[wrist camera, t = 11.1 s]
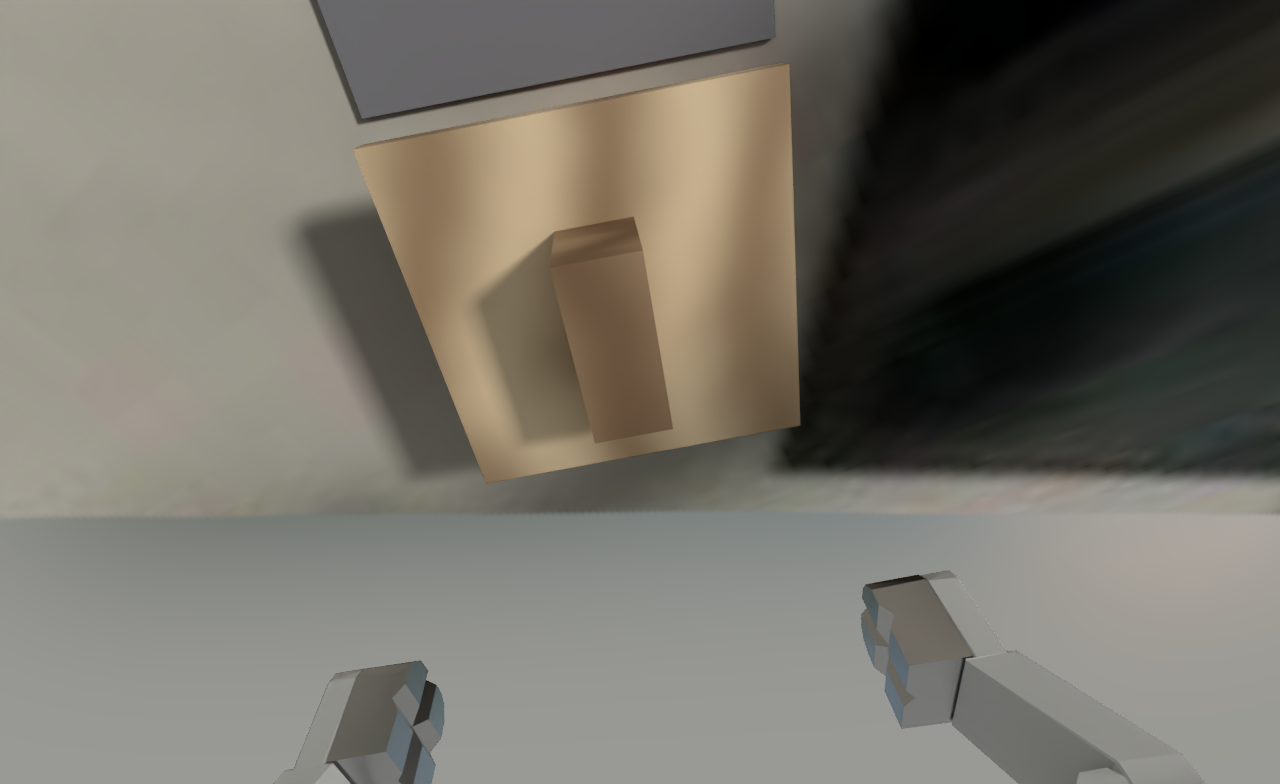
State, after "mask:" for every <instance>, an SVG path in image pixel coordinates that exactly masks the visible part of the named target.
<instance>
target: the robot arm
mask: <svg viewBox="0 0 1280 784" xmlns="http://www.w3.org/2000/svg"><path fill="white" fill-rule="evenodd" d="M862 599H863V601H864V603H865V605H866V607H867V609H866V610H865V611H864V612H863V613H862V614H861V627H862V632H863V638H864V642H865V645H866V648H867V651H868V654H869V656H870V659H871V661H872V663H873V666H874V667H875V668H876V669H877V670H879V671H880V672H881V673H883V674H884V675H885V676H886V682H885V693H886V695H887V697H888V700H889V702H890V704H891V706H892V708H893V711H894V713H895V715H896V717H897V720H898V722H899V724H900V726H901V728H902V729H903V728H911V727H918V726H925V725H933V724H941V723H948V722H952V725H953V726H954V727H955V728H956V729H957V730H958V731H959V732H960V733H962V734H963V735H964V736H965V737H966V738H967V739H968V740H970V741H971V742H972V743H973V744H974V745H975V746H976V747H978V748H979V749H980V750H981V751H982V752H983V753H984V754H985V755H987V756H988V757H989V758H990V759H991V760H992V761H993V762H994V763H996V764H997V765H998V766H999V767H1000V768H1001V769H1002V770H1004V771H1005V772H1006V773H1007V774H1008V775H1009V776H1010V777H1012V778H1013V779H1014V780H1015V781H1016V782H1017V783H1018V784H1206V783H1205V782H1204V780H1203V779H1202V778H1201V776H1200V775H1199V774H1198V773H1197V772H1196V770H1195V769H1194V768H1193V766H1192V765H1191V764H1190V763H1189V762H1188V760H1187V759H1186V758H1185V757H1184V755H1183V754H1182V753H1180V752H1178V751H1177V750H1175V749H1173V748H1172V747H1170V746H1169V745H1167V744H1166V743H1164V742H1162V741H1161V740H1159V739H1158V738H1156V737H1154V736H1153V735H1151V734H1149V733H1148V732H1146V731H1145V730H1143V729H1142V728H1140V727H1138V726H1137V725H1135V724H1134V723H1132V722H1130V721H1129V720H1127V719H1126V718H1124V717H1122V716H1121V715H1119V714H1118V713H1116V712H1114V711H1113V710H1111V709H1110V708H1108V707H1106V706H1105V705H1103V704H1102V703H1100V702H1098V701H1097V700H1095V699H1093V698H1092V697H1090V696H1088V695H1087V694H1085V693H1084V692H1082V691H1081V690H1079V689H1077V688H1076V687H1074V686H1073V685H1071V684H1069V683H1068V682H1066V681H1065V680H1063V679H1061V678H1060V677H1058V676H1057V675H1055V674H1053V673H1052V672H1050V671H1049V670H1047V669H1045V668H1044V667H1042V666H1041V665H1039V664H1037V663H1036V662H1034V661H1033V660H1031V659H1029V658H1028V657H1026V656H1025V655H1023V654H1021V653H1020V652H1018V651H1007V650H1006V649H1005V647H1004V646H1003V644H1002V643H1001V641H1000V640H999V638H998V637H997V635H996V634H995V632H994V631H993V629H992V628H991V626H990V625H989V623H988V622H987V620H986V619H985V617H984V616H983V614H982V613H981V611H980V610H979V608H978V607H977V606H976V604H975V603H974V601H973V599H972V598H971V596H970V595H969V593H968V592H967V591H966V589H965V588H964V586H963V585H962V583H961V582H960V580H959V579H958V577H957V576H956V575H955V574H954V573H952V572H951V571H941V572H936V573H931V574H926V575H921V576H920V575H914V576H909V577H903V578H898V579H893V580H887V581H882V582H876V583H872V584H866V585H865V586H864V588H863V595H862ZM427 673H428V670H427V669H426V667H425V666H424V664H423V663H422V661H414V662H408V663H401V664H394V665H387V666H381V667H374V668H367V669H360V670H354V671H348V672H342V673H337V674H336V675H335V676H334V677H333V678H332V679H331V681H330V682H329V683H328V685H327V688H326V690H325V693H324V695H323V698H322V700H321V703H320V705H319V708H318V710H317V713H316V715H315V718H314V720H313V723H312V725H311V728H310V730H309V733H308V735H307V738H306V740H305V743H304V745H303V747H302V750H301V752H300V755H299V757H298V760H297V762H296V765H295V767H294V769H290V770H286V771H285V772H284V773H283V774H282V775H281V776H280V777H279V778H278V779H277V780H276V781H275V782H274V783H273V784H431V783H432V778H433V774H434V769H435V763H434V761H433V758H432V756H431V754H430V752H431V751H432V749H433V748H434V747H435V746H436V744H437V743H438V742H439V740H440V739H441V736H442V730H443V725H444V702H443V698H442V694H441V692H440V690H439V688H438V687H437V685H435V684H433V683H431V682H429V681H427V680H426V677H427Z"/></svg>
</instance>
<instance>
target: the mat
mask: <svg viewBox="0 0 1280 784" xmlns="http://www.w3.org/2000/svg"><path fill="white" fill-rule="evenodd" d="M317 2H318V4H319V7H320V10H321V12H322V15H323V17H324V20H325V23H326V25H327V28H328V31H329V33H330V36H331V38H332V41H333V44H334V46H335V49H336V52H337V54H338V57H339V59H340V62H341V65H342V67H343V70H344V73H345V75H346V78H347V80H348V83H349V86H350V88H351V91H352V93H353V96H354V99H355V101H356V104H357V107H358V109H359V112H360V114H361V117H362V119H364V118H369V117H374V116H380V115H385V114H390V113H395V112H400V111H405V110H410V109H415V108H420V107H425V106H430V105H435V104H440V103H446V102H451V101H456V100H461V99H466V98H471V97H476V96H481V95H486V94H491V93H496V92H501V91H506V90H512V89H517V88H522V87H527V86H532V85H537V84H542V83H547V82H552V81H557V80H562V79H567V78H572V77H578V76H583V75H588V74H593V73H598V72H603V71H608V70H613V69H618V68H623V67H628V66H633V65H638V64H644V63H649V62H654V61H659V60H664V59H669V58H674V57H679V56H684V55H689V54H694V53H699V52H704V51H710V50H715V49H720V48H725V47H730V46H735V45H740V44H745V43H750V42H755V41H760V40H765V39H770V38H775V14H774V0H317Z"/></svg>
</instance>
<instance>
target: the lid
mask: <svg viewBox="0 0 1280 784" xmlns="http://www.w3.org/2000/svg"><path fill="white" fill-rule="evenodd" d="M353 152H354V154H355V157H356V159H357V162H358V164H359V167H360V169H361V172H362V174H363V177H364V179H365V182H366V184H367V187H368V189H369V192H370V194H371V197H372V199H373V202H374V204H375V207H376V209H377V212H378V214H379V217H380V219H381V222H382V224H383V227H384V229H385V232H386V234H387V237H388V239H389V242H390V244H391V247H392V249H393V252H394V254H395V257H396V259H397V262H398V264H399V267H400V269H401V272H402V274H403V277H404V279H405V282H406V284H407V287H408V289H409V292H410V294H411V297H412V299H413V302H414V304H415V307H416V309H417V312H418V314H419V317H420V319H421V322H422V324H423V327H424V329H425V332H426V334H427V337H428V339H429V342H430V344H431V347H432V349H433V352H434V354H435V357H436V359H437V362H438V364H439V367H440V369H441V372H442V374H443V377H444V379H445V382H446V385H447V387H448V390H449V392H450V395H451V397H452V400H453V402H454V405H455V407H456V410H457V412H458V415H459V417H460V420H461V422H462V425H463V427H464V430H465V432H466V435H467V437H468V440H469V442H470V445H471V447H472V450H473V452H474V455H475V457H476V460H477V462H478V465H479V467H480V470H481V472H482V475H483V477H484V480H485V482H486V483H491V482H497V481H502V480H508V479H513V478H518V477H524V476H529V475H535V474H540V473H546V472H551V471H556V470H562V469H567V468H573V467H578V466H583V465H589V464H594V463H600V462H605V461H610V460H616V459H621V458H627V457H632V456H638V455H643V454H648V453H654V452H659V451H665V450H670V449H675V448H681V447H686V446H692V445H697V444H702V443H708V442H713V441H719V440H724V439H730V438H735V437H740V436H746V435H751V434H757V433H762V432H767V431H773V430H778V429H784V428H789V427H795V426H800V397H799V364H798V331H797V298H796V265H795V232H794V199H793V165H792V132H791V99H790V66H789V64H785V63H777V64H772V65H767V66H762V67H757V68H752V69H747V70H742V71H736V72H731V73H726V74H721V75H716V76H711V77H706V78H701V79H696V80H691V81H685V82H680V83H675V84H670V85H665V86H660V87H655V88H650V89H645V90H640V91H634V92H629V93H624V94H619V95H614V96H609V97H604V98H599V99H594V100H589V101H583V102H578V103H573V104H568V105H563V106H558V107H553V108H548V109H543V110H538V111H532V112H527V113H522V114H517V115H512V116H507V117H502V118H497V119H492V120H487V121H481V122H476V123H471V124H466V125H461V126H456V127H451V128H446V129H441V130H435V131H430V132H425V133H420V134H415V135H410V136H405V137H400V138H395V139H390V140H384V141H379V142H374V143H369V144H364V145H361V146H359V147H357V148H355V149H353Z"/></svg>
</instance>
